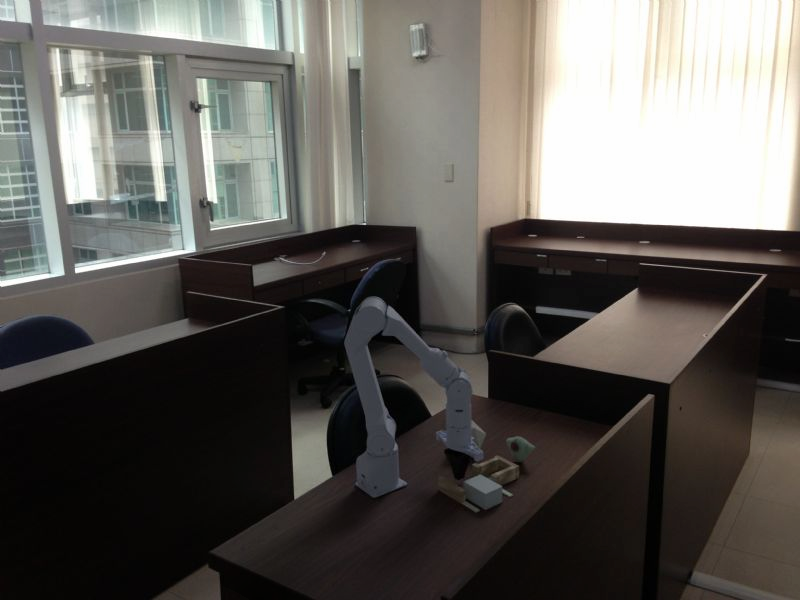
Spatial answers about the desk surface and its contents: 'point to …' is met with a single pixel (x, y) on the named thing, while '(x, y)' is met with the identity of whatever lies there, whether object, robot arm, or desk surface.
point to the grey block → (483, 491)
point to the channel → (491, 469)
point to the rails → (477, 508)
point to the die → (477, 434)
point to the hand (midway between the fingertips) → (459, 477)
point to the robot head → (519, 448)
